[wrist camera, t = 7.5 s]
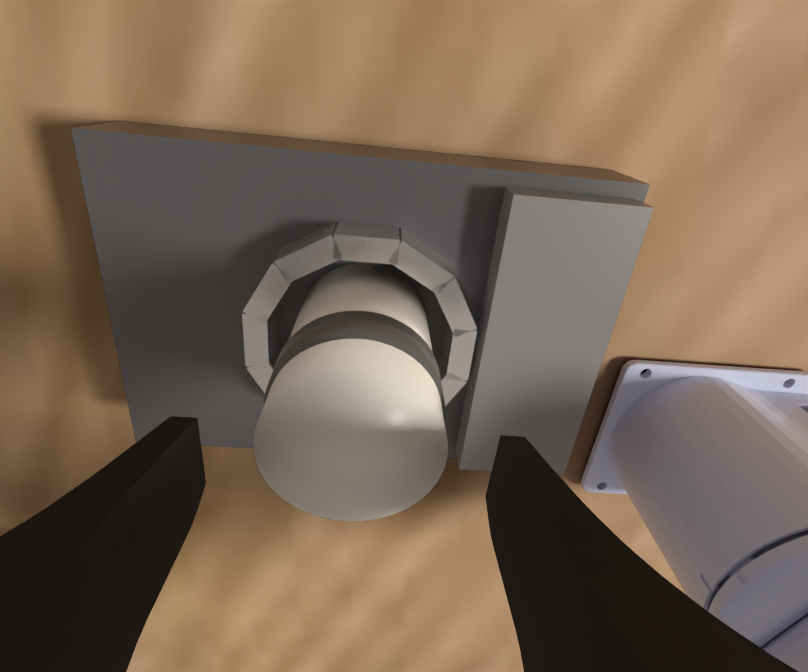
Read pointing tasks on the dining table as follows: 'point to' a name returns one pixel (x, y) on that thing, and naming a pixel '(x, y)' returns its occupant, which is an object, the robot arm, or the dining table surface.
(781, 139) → the dining table surface
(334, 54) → the dining table surface
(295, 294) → the camera body
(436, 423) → the lens
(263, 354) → the mount ring
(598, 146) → the dining table surface
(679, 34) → the dining table surface
